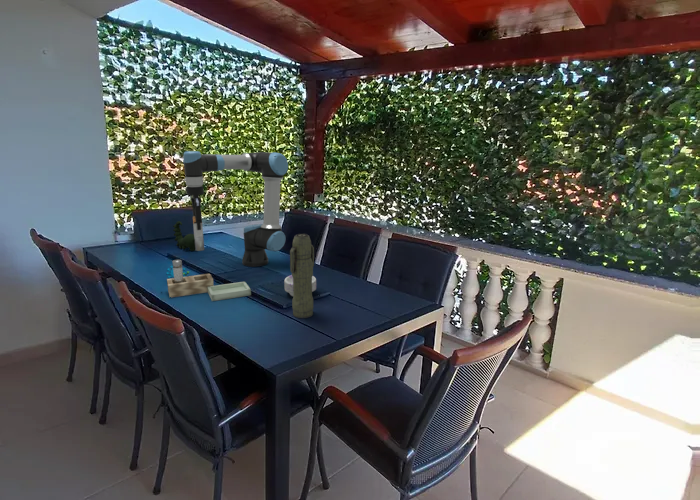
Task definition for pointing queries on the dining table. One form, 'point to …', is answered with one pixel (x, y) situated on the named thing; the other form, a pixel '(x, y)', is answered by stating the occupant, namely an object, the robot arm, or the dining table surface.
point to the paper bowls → (289, 284)
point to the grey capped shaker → (178, 271)
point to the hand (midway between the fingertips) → (198, 235)
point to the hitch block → (190, 285)
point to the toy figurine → (187, 240)
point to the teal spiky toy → (173, 272)
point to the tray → (228, 291)
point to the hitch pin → (198, 238)
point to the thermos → (302, 275)
